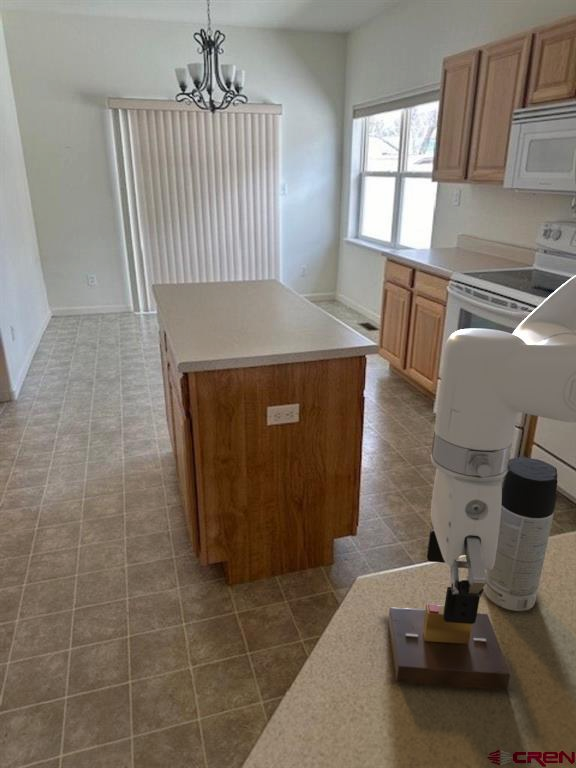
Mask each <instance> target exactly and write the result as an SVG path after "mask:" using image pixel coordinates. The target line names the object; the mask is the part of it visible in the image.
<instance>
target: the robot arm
mask: <svg viewBox="0 0 576 768" xmlns="http://www.w3.org/2000/svg"><path fill="white" fill-rule="evenodd" d="M444 346H445V347H444V352H443V358H442V367H441V375H440V384H439V391H438V398H437V407H436V412H435V413H436V415H435V422H434V429H433V435H432V436H433V437H432V445H431V446H432V447H431V454H430V462H431V464H432V465H433V466H434V467H435V468H436V470H435V475H434V482H433V487H432V495H431V503H430V520H431V524H430V526H431V530H430V531H429V539H428V544H427V545H428V546H427V553H426V559H427V561H428V562H430V563H443V564H446V565H447V566H448V567H449V569H450V586H447V587H446V588H447V589H446V593H445V598H444V599H445V600H444V605H443V606H444V612H443V617H444V621H446V622H453V623H466V624H473V623H475V621H476V616H477V613H478V609H479V604H480V599H481V597H482V595H483V592H484V586H485V584H486V569H487V570H491V569H492V568H493V567H494V564H495V558H496V550H497V543H498V535H499V527H500V517H501V503H502V479H503V477H504V476H505V475H506V474H507V469H508V464H509V460H510V459H511V453H512V449H513V448H512V447H513V441H514V437H515V430H516V425H517V419H518V416H519V415H518V414H519V413H521V414H526V415H531V416H536V417H541V418H545V419H549V420H553V421H559V422H565V423H576V275H574V276H572V277H571V278H570V279H568V280H567V281H566V282H565V283H563V284H562V285H561V286H559V287H558V288H557V289H556V290H554V292H552V293H551V294H550V295H549V296H548V297H547V298H546V299H544V301H543V302H542V303H540V304H539V305H538V306H537V307H536V308H535V309H534V310H533V311H532V312H531V313H530V314H528V315H527V317H526V318H524V320H522V321H521V322H520V323H519V325H518V326H517V327H516V328H515V329H514V330H513V332H512V333H510V332H508V331H503V330H498V329H492V328H478V327H476V328H475V327H473V328H464V329H458V330H457V331H455V332H453V333H452V334H451V335H450V336H449V337H448V339H447V340H446V342H445V345H444ZM461 556H465V559H466V560H465V561H464V560H459V558H460V557H461ZM459 569H467V576H466V579H462V580H460V574H459V572H460V571H459Z"/></svg>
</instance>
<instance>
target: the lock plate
mask: <svg viewBox="0 0 576 768" xmlns="http://www.w3.org/2000/svg"><path fill="white" fill-rule="evenodd" d="M425 611H426V609H420V608H406V607H405V608H403V607H402V608H401V607H389V611H388V621H387V622H388V629H389V638H390V643H391V650H392V658H393V666H394V673H395V681H396V682H398V683H411V684H425V685H438V686H453V687H465V688H466V687H467V688H468V687H469V688H481V689H494V690H495V689H496V690H508V688H509V683H510V678H511V672H510V670H509V667H508V665H507V663H506V662H507V661H506V660H505V657H504V655H503V651H502V649H501V646H500V644H499V641H498V639H497V635H496V633H495V631H494V628H493V625H492V623H491V620H490V618H489V615H488V613H484V612H483V613H482V612H477V616H476V621H475V623H473V624H472V626H471V633H470V639H469V644H461V643H446V642H431V641H425V639H424V634H423V627H424V619H425Z"/></svg>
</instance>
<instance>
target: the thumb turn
mask: <svg viewBox="0 0 576 768" xmlns="http://www.w3.org/2000/svg"><path fill="white" fill-rule="evenodd" d="M444 606H445V605H440V604H437V603H427V604H426V605H425V610H426V611H425V619H424V627H423V634H424V639H425V641H431V642H446V643H461V644H469V639H470V633H471V626H472V624H466V623H453V622H446V621H444V617H443V612H444Z"/></svg>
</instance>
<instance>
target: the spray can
mask: <svg viewBox="0 0 576 768" xmlns="http://www.w3.org/2000/svg"><path fill="white" fill-rule="evenodd" d="M501 482H502V503H501V517H500V527H499V535H498V543H497V550H496V558H495V564H494V567H493V568H492V569H491V570H487V569H485V574H486V584H485V586H484V588H483V589H484V591H483V592H484V594H485V596H486V597H487V598H488V599H489V600H490V601H491V602H492V603H494V604H495V605H497V606H499V607H501V608H503V609H506V610H509V611H515V612H516V611H517V612H523V611H528V610H530V609H531V608H533V607H534V606H535V604H536V601H537V595H538V590H539V587H540V581H541V577H542V571H543V567H544V562H545V559H546V558H545V557H546V552H547V547H548V543H549V537H550V533H551V528H552V525H553V519H554V513H555V510H556V509H555V508H556V503H557V498H558V494H557V491H558V490H557V488H558V483H559V481H558V469H557V468H556V467H555V466H554V465H553V464H551V463H548V462H546V461H543V460H541V459H537V458H531V457H523V456H522V457H514V458H510V459H509V464H508V469H507V474H506V475H505V476H504V477H503V478H502V479H501Z"/></svg>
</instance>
